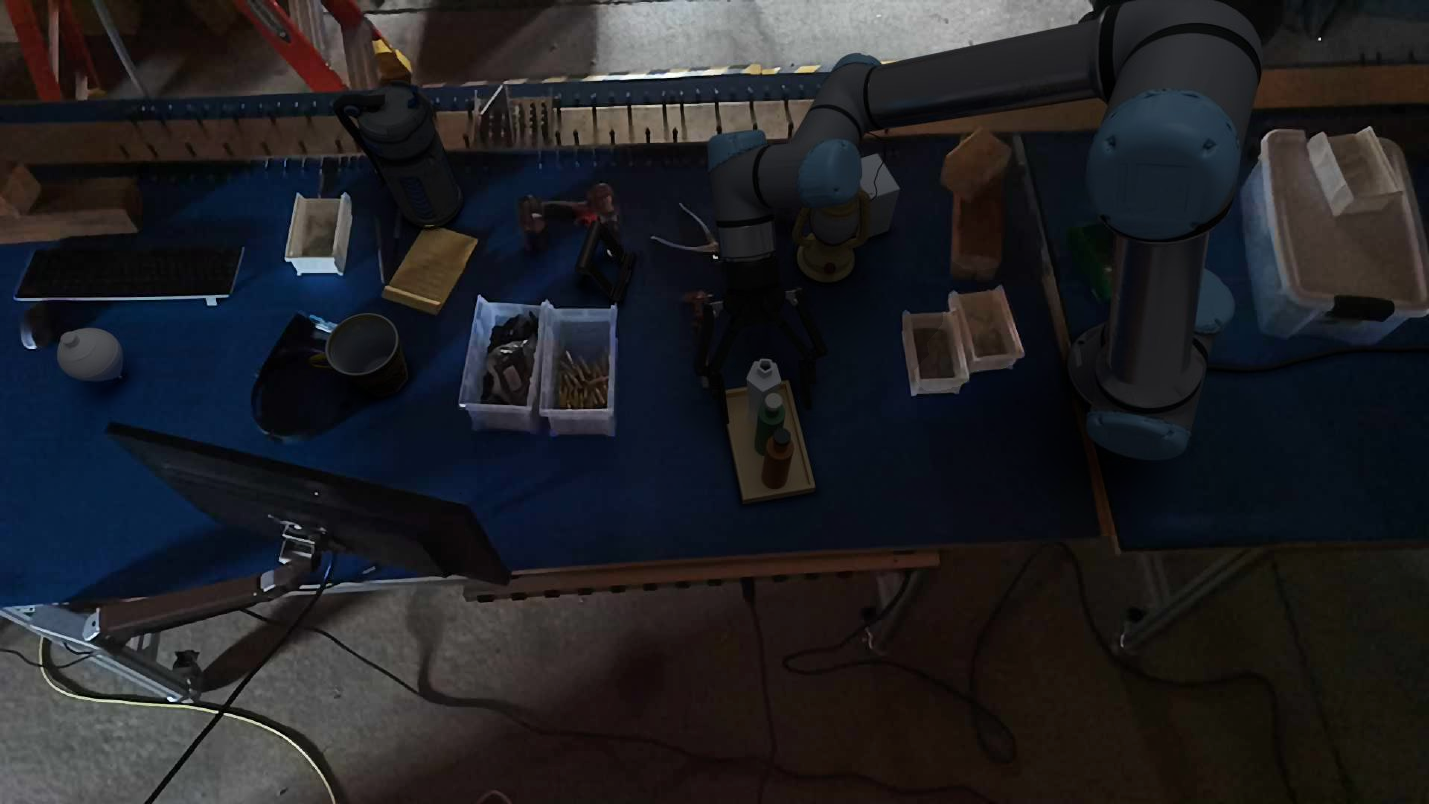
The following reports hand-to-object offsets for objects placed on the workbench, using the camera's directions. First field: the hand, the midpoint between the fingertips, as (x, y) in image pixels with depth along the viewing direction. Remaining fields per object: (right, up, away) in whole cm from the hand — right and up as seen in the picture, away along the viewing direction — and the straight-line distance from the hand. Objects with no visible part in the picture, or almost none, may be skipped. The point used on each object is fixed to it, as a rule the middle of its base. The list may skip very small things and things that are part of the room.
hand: (766, 414), depth 119 cm
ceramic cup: (-58, +5, +9) cm, 59 cm away
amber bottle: (+1, -9, +2) cm, 9 cm away
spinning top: (-95, +5, +9) cm, 96 cm away
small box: (+17, +32, +23) cm, 43 cm away
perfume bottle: (-1, 0, +7) cm, 7 cm away
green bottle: (0, -5, +4) cm, 6 cm away
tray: (0, -4, +5) cm, 7 cm away
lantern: (+11, +24, +19) cm, 33 cm away
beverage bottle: (-54, +34, +24) cm, 68 cm away
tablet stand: (-24, +21, +18) cm, 37 cm away
